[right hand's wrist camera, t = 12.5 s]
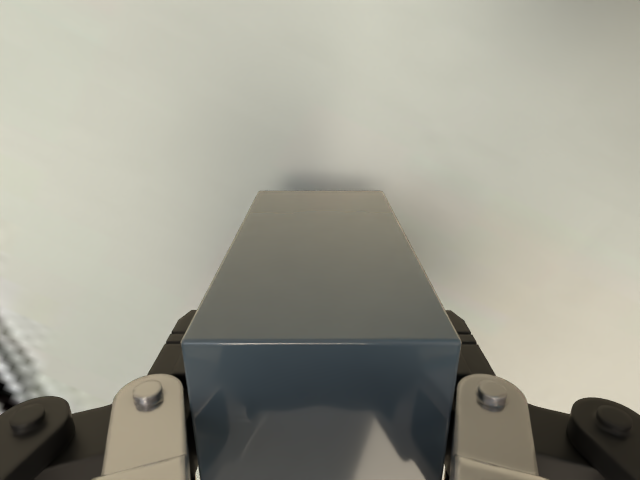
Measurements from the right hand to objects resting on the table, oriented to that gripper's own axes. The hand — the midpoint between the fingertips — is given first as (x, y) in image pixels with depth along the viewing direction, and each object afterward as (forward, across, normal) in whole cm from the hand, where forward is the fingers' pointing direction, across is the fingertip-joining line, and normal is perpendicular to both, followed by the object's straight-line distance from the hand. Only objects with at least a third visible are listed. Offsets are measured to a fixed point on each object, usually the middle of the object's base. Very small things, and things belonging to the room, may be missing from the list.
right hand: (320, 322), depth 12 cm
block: (+5, 0, 0) cm, 5 cm away
